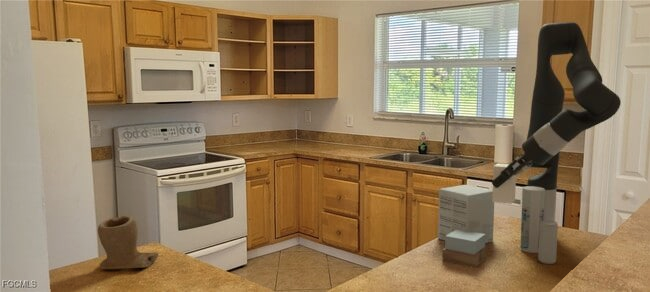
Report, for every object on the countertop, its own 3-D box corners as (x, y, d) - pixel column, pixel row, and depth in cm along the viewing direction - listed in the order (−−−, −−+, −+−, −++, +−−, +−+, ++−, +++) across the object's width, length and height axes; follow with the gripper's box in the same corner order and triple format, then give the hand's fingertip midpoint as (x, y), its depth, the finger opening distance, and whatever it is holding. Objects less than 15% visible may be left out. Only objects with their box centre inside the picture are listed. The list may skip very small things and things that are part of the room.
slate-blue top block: (456, 241, 159) (457, 229, 158) (485, 246, 154) (485, 234, 153) (445, 248, 152) (445, 235, 151) (474, 254, 146) (474, 241, 146)
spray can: (517, 246, 165) (520, 185, 162) (539, 247, 164) (541, 186, 161) (522, 252, 158) (525, 190, 156) (544, 253, 157) (547, 190, 155)
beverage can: (557, 265, 148) (559, 225, 146) (540, 264, 149) (541, 224, 147) (553, 259, 152) (555, 220, 151) (536, 258, 153) (538, 219, 152)
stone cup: (91, 275, 141) (88, 223, 140) (109, 260, 153) (106, 212, 151) (146, 275, 142) (143, 222, 140) (159, 260, 153) (157, 212, 152)
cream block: (496, 198, 144) (497, 163, 143) (515, 200, 141) (516, 164, 140) (492, 201, 140) (493, 166, 138) (511, 203, 137) (512, 167, 136)
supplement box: (463, 232, 181) (464, 184, 179) (493, 241, 170) (495, 190, 168) (436, 238, 174) (438, 188, 172) (466, 248, 163) (468, 195, 161)
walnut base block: (453, 253, 160) (453, 240, 159) (485, 258, 155) (485, 246, 154) (442, 262, 152) (442, 249, 151) (475, 268, 146) (476, 255, 146)
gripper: (541, 130, 139) (496, 169, 148) (527, 135, 128) (479, 177, 136) (561, 151, 137) (514, 189, 145) (549, 157, 125) (498, 199, 134)
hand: (497, 183), depth 141 cm, fingers closed on cream block, 5 cm apart
